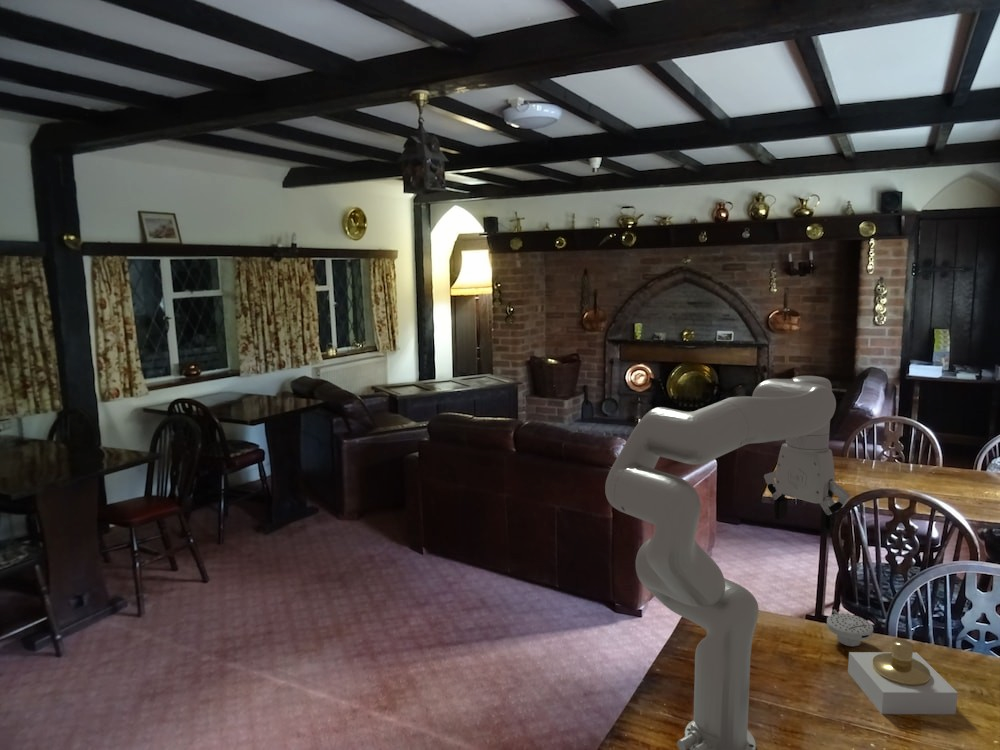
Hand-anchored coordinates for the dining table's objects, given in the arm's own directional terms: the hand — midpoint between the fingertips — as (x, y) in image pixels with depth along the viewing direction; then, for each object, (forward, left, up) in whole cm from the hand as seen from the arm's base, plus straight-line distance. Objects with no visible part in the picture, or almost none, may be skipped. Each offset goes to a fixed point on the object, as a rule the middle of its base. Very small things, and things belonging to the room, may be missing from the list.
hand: (803, 524), depth 136 cm
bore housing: (+16, -13, -37) cm, 42 cm away
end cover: (+16, -13, -35) cm, 41 cm away
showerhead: (+26, +3, -37) cm, 45 cm away
